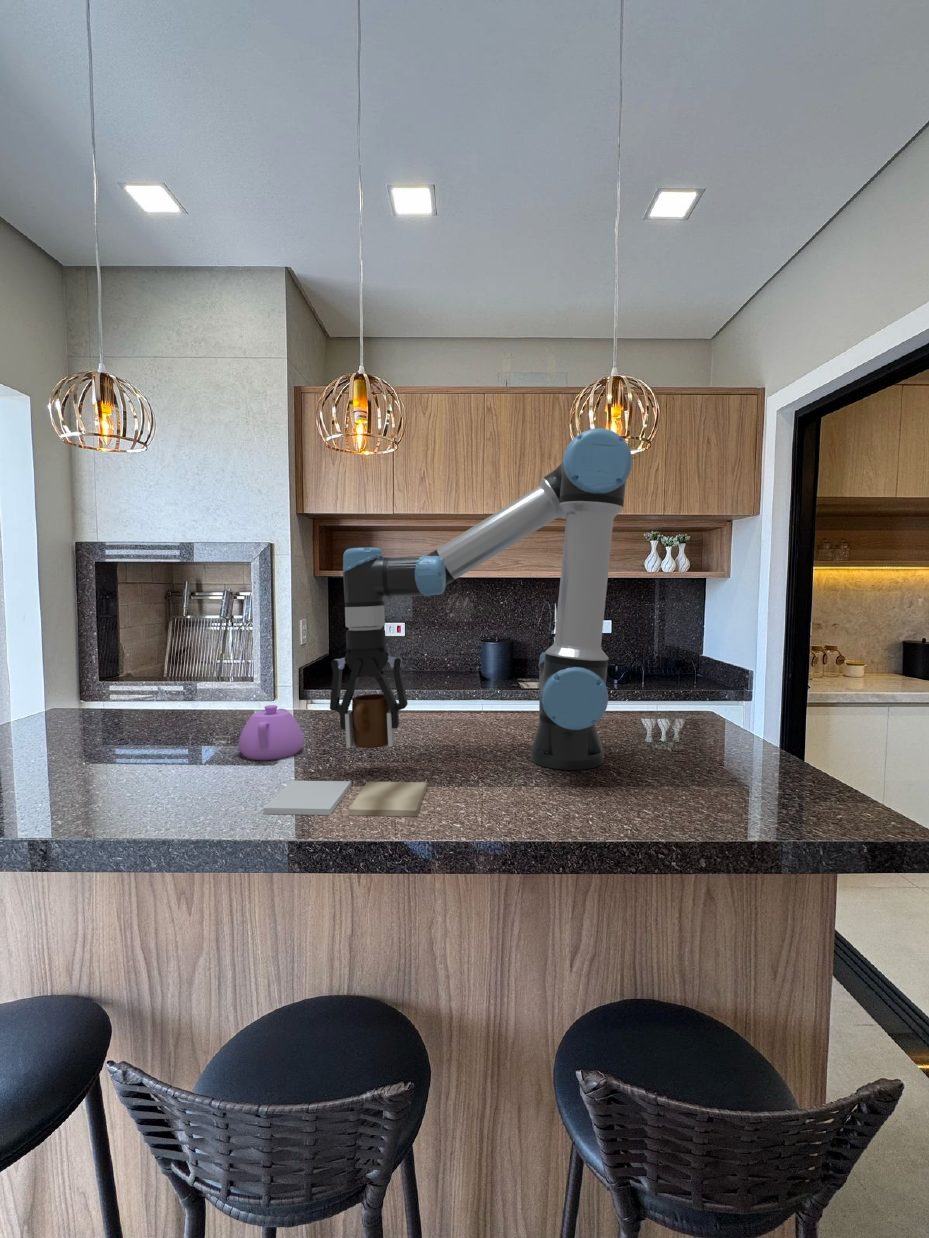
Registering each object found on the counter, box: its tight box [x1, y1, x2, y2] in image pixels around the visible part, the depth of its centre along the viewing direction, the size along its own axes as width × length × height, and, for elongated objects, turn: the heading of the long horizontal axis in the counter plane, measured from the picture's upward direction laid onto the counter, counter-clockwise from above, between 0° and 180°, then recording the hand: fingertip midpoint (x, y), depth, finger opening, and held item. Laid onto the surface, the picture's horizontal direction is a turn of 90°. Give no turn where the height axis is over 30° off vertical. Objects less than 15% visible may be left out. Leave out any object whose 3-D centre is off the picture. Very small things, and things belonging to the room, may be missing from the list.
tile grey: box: [262, 780, 352, 816], centre depth 106 cm, size 11×14×1 cm
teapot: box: [238, 704, 305, 761], centre depth 136 cm, size 14×20×11 cm
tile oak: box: [347, 781, 428, 817], centre depth 105 cm, size 11×14×1 cm
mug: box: [351, 693, 390, 749], centre depth 119 cm, size 12×8×9 cm, turn 169°
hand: (370, 745), depth 119 cm, fingers closed on mug, 7 cm apart
